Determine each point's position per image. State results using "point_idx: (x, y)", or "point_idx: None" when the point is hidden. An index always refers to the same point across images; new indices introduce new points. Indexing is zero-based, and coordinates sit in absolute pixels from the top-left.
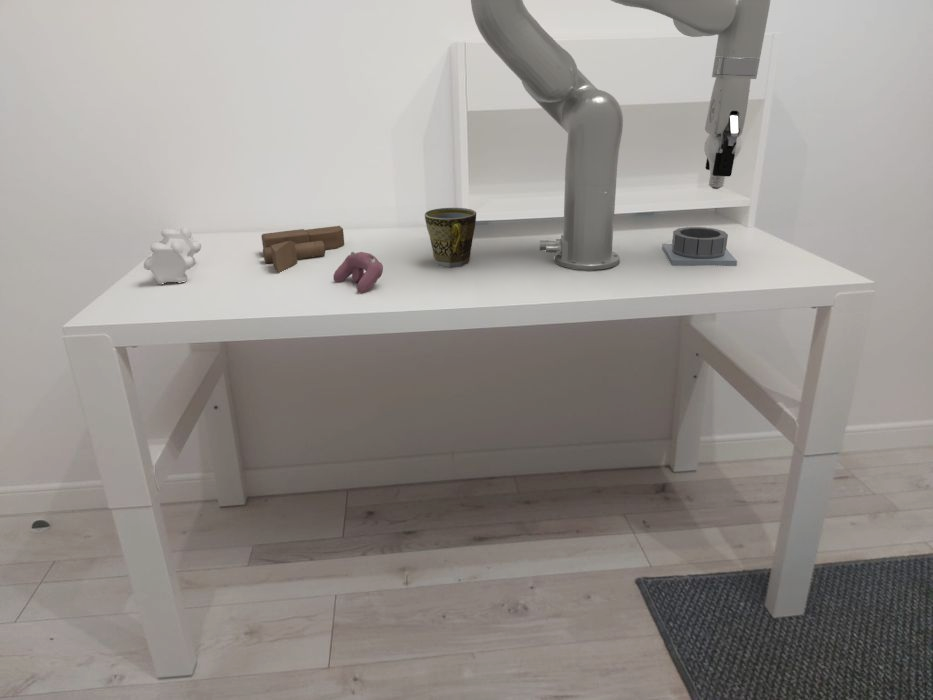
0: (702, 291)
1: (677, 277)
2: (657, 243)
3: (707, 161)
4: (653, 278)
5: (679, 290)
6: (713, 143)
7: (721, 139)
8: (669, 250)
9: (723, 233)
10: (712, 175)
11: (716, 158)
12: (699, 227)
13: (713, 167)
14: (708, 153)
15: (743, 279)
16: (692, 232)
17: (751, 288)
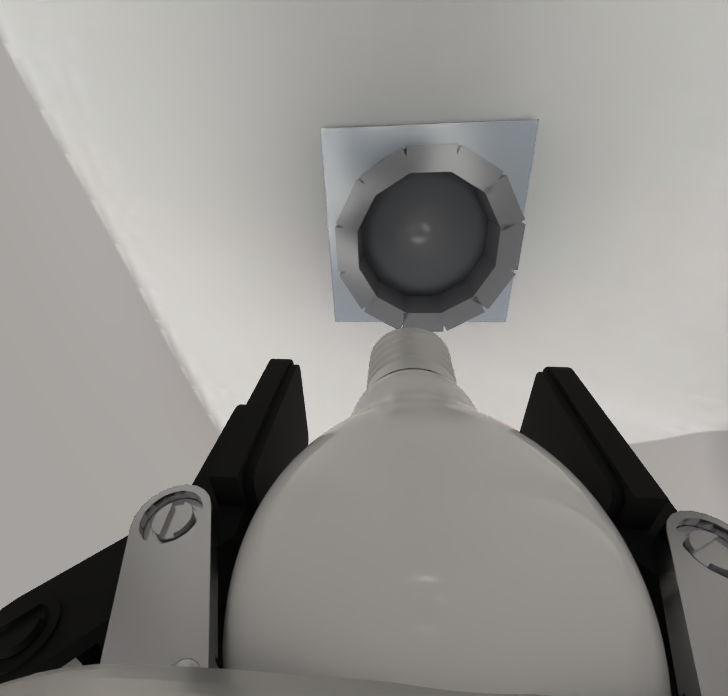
0: (100, 185)
1: (202, 131)
2: (612, 111)
3: (568, 402)
4: (170, 39)
5: (83, 118)
6: (263, 550)
7: (104, 660)
8: (442, 136)
9: (418, 322)
10: (386, 366)
11: (228, 441)
12: (511, 261)
13: (366, 395)
14: (347, 425)
15: (228, 306)
16: (495, 231)
17: (165, 306)
